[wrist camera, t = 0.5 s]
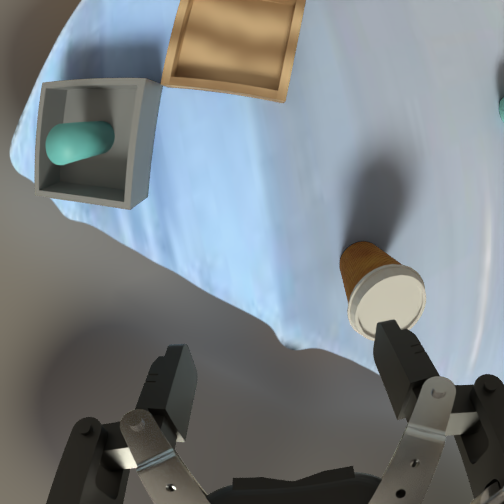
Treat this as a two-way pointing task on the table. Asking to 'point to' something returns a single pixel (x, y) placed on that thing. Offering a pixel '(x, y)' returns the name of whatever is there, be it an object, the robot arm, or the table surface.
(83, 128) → the peg
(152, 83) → the deep bin
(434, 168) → the table surface
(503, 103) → the cupcake
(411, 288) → the disposable coffee cup
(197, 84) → the tray
